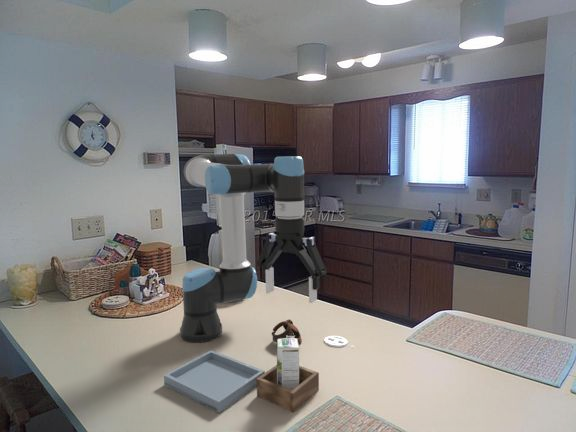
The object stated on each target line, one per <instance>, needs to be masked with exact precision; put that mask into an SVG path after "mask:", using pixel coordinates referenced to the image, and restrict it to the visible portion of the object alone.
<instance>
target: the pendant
mask: <svg viewBox="0 0 576 432" xmlns="http://www.w3.org/2000/svg"><path fill="white" fill-rule="evenodd" d="M323 340H324V341H323V342H324V343H325V344H326V345H327V346H331V347H333V348H343V347H346V346H347V347H350V348H355V346H354V345H350V344H349V343H348V339H346V338H345V337H343V336H339V335H329V336H325V337H324V339H323Z"/></svg>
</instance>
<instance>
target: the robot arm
mask: <svg viewBox="0 0 576 432" xmlns="http://www.w3.org/2000/svg"><path fill="white" fill-rule="evenodd" d="M273 160H274V162H273V163H262V164H261V163H260V164H259V163H257V164H255V163H254V164H251V162H250V160H249V158H248V157H247V156H246V155H244V154H241V153H239V154H238V153H224V154H223V153H220V154H217V153H216V154H214V153H213V154H210V153H207V154H201V155H197V156H193V157H192V158H190V159H189V160H188V161H187V162H186V163H185V165H184V168H183V175H184V178H185V180H186V182H187V183H189V184H190V185H191V186H194V187H198V188H206V190H207V192H208V193H209V194H211V195H218V196H219V200H220V218H221V219H220V220H221V238H222V239H221V241H222V262H221V263H220V264H219V270H218V271H216V270H215V269H214V268H212V267H200V268H197V269H193V270H191V271H189V272H187V273H185V274H184V276H183V277H182V286H181V290H182V299H183V300H182V303H183V317H182V321H181V322H182V323H181V326H180V329H179V337H180V339H181V340H183V341H185V342H186V343H187V342H189V343H197V344H198V343H206V342H210V341H213V340H216V339H218V338H219V337H221V335H222V334H223V324H222V322H221V320H220V316H219V314H218V311H217V310H218V309H217V308H218V307H217V305H219V304H224V303H231V302H237V300H238V301H243V300H248V299H250V298H252V297H253V296H254V295H255V293H256V291H257V287H258V275H257V271H256V269H255V267H252V265H251V262H250V261H249V260H248V258H247V243H246V242H247V238H246V217H245V195H246V194H247V193H266V192H268V193H269V192H274V215H275V218H274V223H275V224H274V225H275V226H274V228H275V229H274V231H275V232H269V233H267V234H265V242H264V243H263V244H264V245H263V247H262V250H261V252H260V255H259V258H258V260H257V262H256V266H259V267H261V268H262V270H263V279H264V281H265V294H270V293H272V292H274V291H275V280H274V279H275V278H274V277H275V276H274V274H275V273H274V271H275V270H274V267H273V264H274V263H275V262H276V260H277V259H278V258H279V257H280V255H281V254H282V253H289V254H295V255H296V256H297V257H298V259H300V261H301V262H302V264H303V265H304V267H305V268H306V270H307V272H308V274H310V276H308V303H311V304H312V303H314V302H315V301H317V300H318V290H319V289H320V277H322V276H324V275H326V274H327V273H328V272H327V269H326V266H325V263H324V261H323V260H322V257H321V255H320V252H319V250H318V248H317V244H316V237H315V236H311V237H305V235H304V233H305V218H304V217H303V216H305V169H304V168H305V167H304V159H303V158H302V156H300V155H299V156H298V155H297V156H291V155H290V156H289V155H288V156H276V157H275V158H274V159H273ZM275 233H276V234H275ZM275 242H276V243H277V245H276V246H275V247H274V249H273V246H274V243H275ZM306 248H307V249H306ZM272 249H273V251H272ZM271 251H272V252H271ZM270 253H271V254H270Z"/></svg>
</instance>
